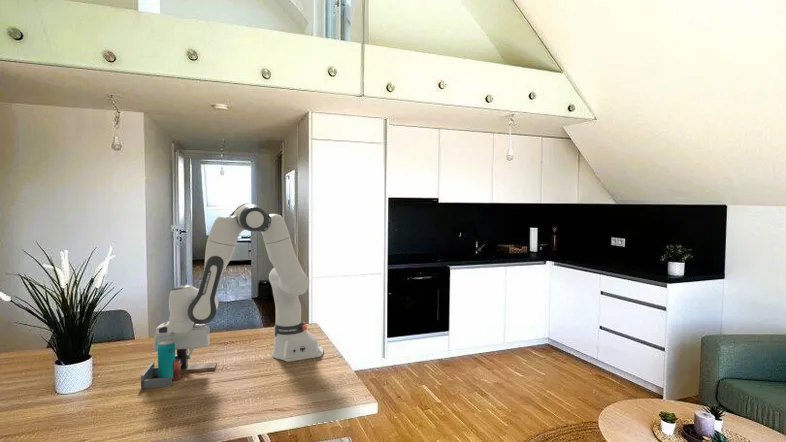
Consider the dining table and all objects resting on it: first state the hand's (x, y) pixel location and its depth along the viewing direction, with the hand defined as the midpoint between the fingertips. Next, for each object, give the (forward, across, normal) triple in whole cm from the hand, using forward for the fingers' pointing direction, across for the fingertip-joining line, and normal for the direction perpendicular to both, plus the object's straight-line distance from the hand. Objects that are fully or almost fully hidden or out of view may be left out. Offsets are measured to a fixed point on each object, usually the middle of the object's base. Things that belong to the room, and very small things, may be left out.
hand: (182, 359), depth 165 cm
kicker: (+4, 0, +4) cm, 6 cm away
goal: (+5, +6, +8) cm, 11 cm away
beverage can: (+5, +4, +8) cm, 10 cm away
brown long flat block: (+5, -4, 0) cm, 6 cm away
